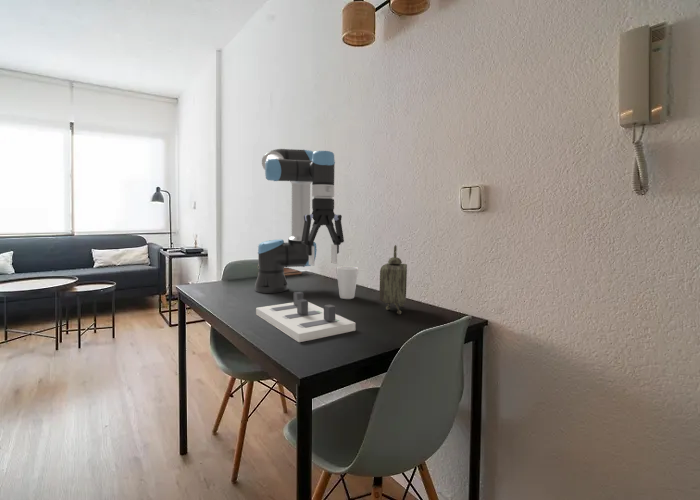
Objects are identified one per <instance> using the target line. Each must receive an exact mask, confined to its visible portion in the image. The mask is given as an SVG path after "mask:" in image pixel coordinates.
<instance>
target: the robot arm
mask: <svg viewBox="0 0 700 500" xmlns="http://www.w3.org/2000/svg"><path fill="white" fill-rule="evenodd" d="M335 164H336V160H335V153H334V152H333V151H330V150H315V151H313V150H308V149H293V148H291V149H290V148H286V149H285V148H277V149H273V150H270V151H267V152H266V153H265V154H264V155H263V156H262V158H261V165H262V168H263V170H264V174H265V175H264V176H265V179H266V180H267V181H273V182H290V184H291V234H290V236H289V237H288V240H287V242H285V241H284V239H281V238H279V239H272V240H265V241H261V242H260V243H259V244H258V246H257V247H258V250H257V251H258V252H257V254H258V264H257V267H258V266H259V268H258V271H259V272H258V274H257V278H256V280H255V284H254V291H255V292H258V293H261V294H262V293H264V294H276V293H283V292H285V291H288V282H287V278H286V276H285V275H284V268H295V267H296V268H297V267H299V268H300V267H301V268H305V267H313V266H315V262H316V261H315V260H316V257H317V251H318V250H317V243H316V242H315V239H316V237H317V234H318V232H319V229H320V228H321V226H325V227H326V228H327V230H328V233H329V236H330V238H331V240H332V243H333V244H330V245H331V246H330V248H331V249H330V253H331V255H330V257H331V258H330V259H331V260H330V263H332V264H338V254H339V253H340V246H341V244H343V243H345V239H344V238H345V237H344V231H343V226H342V224H343V223H342V215H341V214H336V213H335V212H334V211H335V199H334V197H335ZM311 196H312V197H313V198H312V199H311ZM311 206H312V207H311ZM311 209H312V211H311ZM312 220H313V222H312ZM333 221H334V222H333ZM311 226H312V227H311Z"/></svg>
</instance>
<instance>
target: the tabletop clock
mask: <svg viewBox="0 0 700 500" xmlns="http://www.w3.org/2000/svg"><path fill="white" fill-rule="evenodd" d="M397 250H398V249H397V245H396V244H395V245H394V247H393V256H392V257H390V258H389V260H388V261H387V263H385V264H383V265H382V266H381V268H380V269H379V270H380V271H379V301H381V302H382V303H384V304H387V305H386V306H385V310H386V311H389V310H390V309H391V306H390V305H391V304H394V306H395V307H396V314H397V315H401V314H402V311H401V309H400V308H403V307H404V305H405V304H406V299H407V284H408V283H407V280H408V278H407V277H408V264H407V263H403V262H402V259H400V257H397V255H398V253H397ZM399 307H400V308H399Z"/></svg>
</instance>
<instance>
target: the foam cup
mask: <svg viewBox="0 0 700 500" xmlns="http://www.w3.org/2000/svg"><path fill="white" fill-rule="evenodd" d="M358 274H359V267H358V266H352V265H345V266H344V265H342V266H341V265H340V266H337V267H336V278H337V284H338V285H337V286H338V295H339V299H344V300H351V299H354V298H355V296H356V294H355V293H356V288H357V281H358Z"/></svg>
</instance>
